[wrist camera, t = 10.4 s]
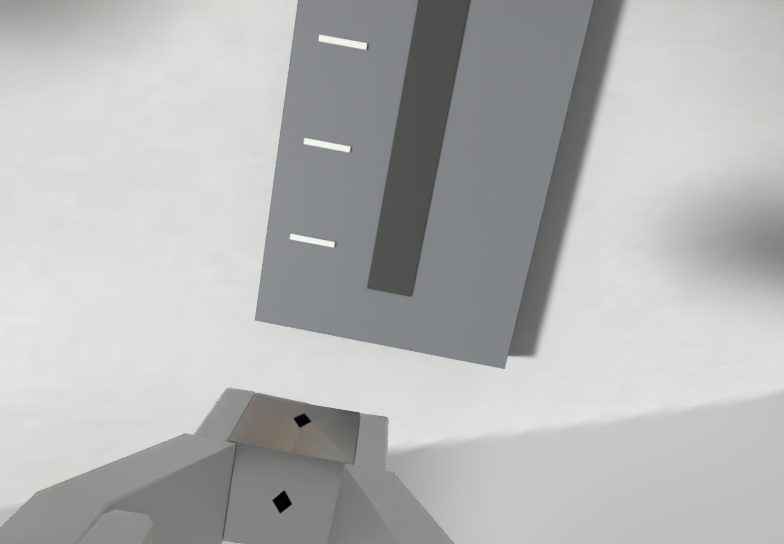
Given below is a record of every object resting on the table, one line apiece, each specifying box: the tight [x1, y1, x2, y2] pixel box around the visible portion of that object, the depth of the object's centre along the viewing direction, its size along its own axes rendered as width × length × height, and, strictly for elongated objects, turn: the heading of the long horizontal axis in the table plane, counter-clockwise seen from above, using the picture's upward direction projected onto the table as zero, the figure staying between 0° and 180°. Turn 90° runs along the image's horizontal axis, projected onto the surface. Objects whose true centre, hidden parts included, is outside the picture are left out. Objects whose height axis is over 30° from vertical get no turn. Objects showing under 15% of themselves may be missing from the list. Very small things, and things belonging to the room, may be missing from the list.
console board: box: [255, 0, 594, 369], centre depth 25 cm, size 30×14×2 cm, turn 170°
